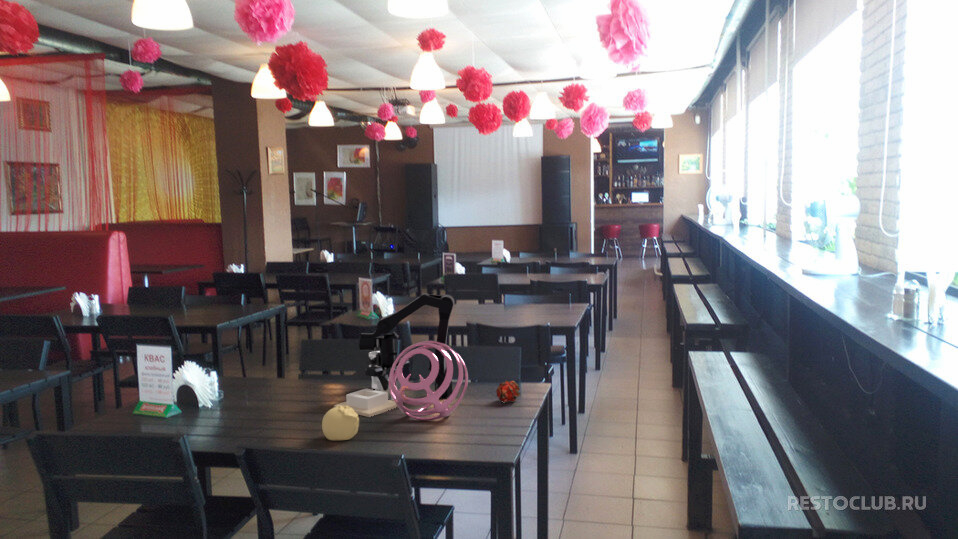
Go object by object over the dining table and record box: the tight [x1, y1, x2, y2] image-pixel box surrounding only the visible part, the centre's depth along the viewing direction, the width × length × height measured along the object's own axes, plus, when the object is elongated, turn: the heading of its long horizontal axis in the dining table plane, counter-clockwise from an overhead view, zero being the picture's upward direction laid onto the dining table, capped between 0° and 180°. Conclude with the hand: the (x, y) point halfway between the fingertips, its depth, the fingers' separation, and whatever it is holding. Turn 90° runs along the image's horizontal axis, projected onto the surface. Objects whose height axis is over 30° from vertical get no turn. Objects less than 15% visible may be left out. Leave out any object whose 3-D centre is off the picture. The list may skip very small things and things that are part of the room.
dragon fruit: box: [496, 379, 522, 403], centre depth 260 cm, size 8×8×12 cm
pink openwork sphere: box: [388, 340, 469, 422], centre depth 246 cm, size 28×28×27 cm
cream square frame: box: [333, 387, 399, 418], centre depth 261 cm, size 20×16×5 cm
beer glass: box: [368, 350, 381, 391], centre depth 287 cm, size 7×7×15 cm
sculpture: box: [321, 405, 360, 441], centre depth 227 cm, size 11×12×11 cm
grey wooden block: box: [377, 376, 401, 401], centre depth 272 cm, size 9×4×8 cm, turn 51°
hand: (389, 389), depth 272 cm, fingers closed on grey wooden block, 4 cm apart
